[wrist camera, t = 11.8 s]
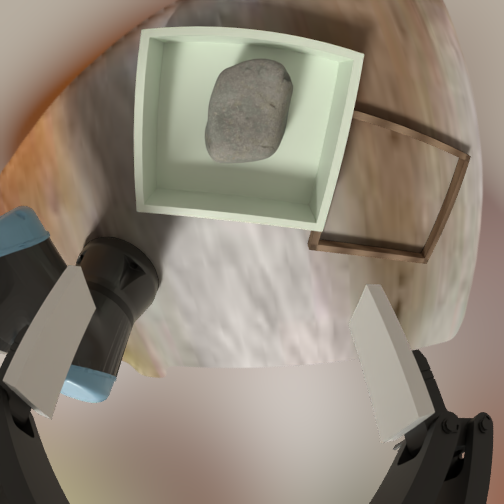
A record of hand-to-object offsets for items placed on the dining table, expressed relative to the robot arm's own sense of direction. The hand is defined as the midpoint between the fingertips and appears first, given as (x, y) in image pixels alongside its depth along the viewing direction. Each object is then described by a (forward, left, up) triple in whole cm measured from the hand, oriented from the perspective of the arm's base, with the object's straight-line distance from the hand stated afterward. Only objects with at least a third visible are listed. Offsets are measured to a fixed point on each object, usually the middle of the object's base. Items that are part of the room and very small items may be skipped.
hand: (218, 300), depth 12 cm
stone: (0, +6, -24) cm, 25 cm away
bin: (0, +4, -25) cm, 25 cm away
